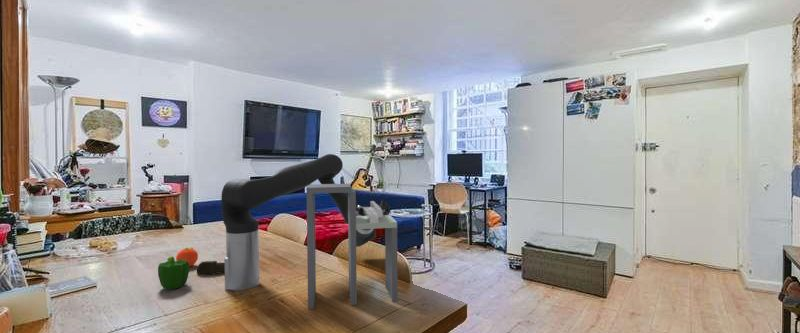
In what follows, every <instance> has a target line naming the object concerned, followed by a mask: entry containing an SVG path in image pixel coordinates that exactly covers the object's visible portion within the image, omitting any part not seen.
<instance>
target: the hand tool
mask: <svg viewBox="0 0 800 333" xmlns="http://www.w3.org/2000/svg"><path fill="white" fill-rule="evenodd" d="M218 273H219V274H220V273H225V264H224V262H217V261H216V260H213V261H212V260H211V261H210V260H205V261H201V262H200V263H198V266H197V268H196V275H200V274H202V276H209V275H211V276H213V275H212V274H214V275H216V274H218ZM203 274H204V275H203Z"/></svg>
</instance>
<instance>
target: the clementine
mask: <svg viewBox="0 0 800 333" xmlns="http://www.w3.org/2000/svg"><path fill="white" fill-rule="evenodd" d="M198 258H199V254H198V252H197V251H196V250H195V248H193V247H186V248H183V249H182V248H181V250H179V252H178V253H177V254H176V257H175V261H178V260H180V259H184V260H186V261H188V263H189V268H190V267H192V266H194V265H195V264H196V263H197V261H198Z"/></svg>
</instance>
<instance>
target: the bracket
mask: <svg viewBox="0 0 800 333" xmlns="http://www.w3.org/2000/svg"><path fill="white" fill-rule="evenodd" d="M378 205H379V204H377V203H376V201H374V200H371V201H369V207H365V206H362V207H363V212H364V214H365V216H366V218H367V219H368V221H369V223H382V209H381V208H380V207H379V206H378Z"/></svg>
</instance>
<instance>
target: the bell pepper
mask: <svg viewBox="0 0 800 333" xmlns="http://www.w3.org/2000/svg"><path fill="white" fill-rule="evenodd" d="M157 272H158V273H157V275H158V279H159V283H160V286H161V287H162V288H163V289H164V290H166V289H173V290H176V288H177V289H178V288H179V289H180V288H181V287H182V286H186V284H187V281H188V277H189V273H190V267H189V263H188V261H186V260H184V259H180V260H178V261H176V258H174V256H168V258H167V260H166V261H165V262H160V263H158V266H157Z"/></svg>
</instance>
